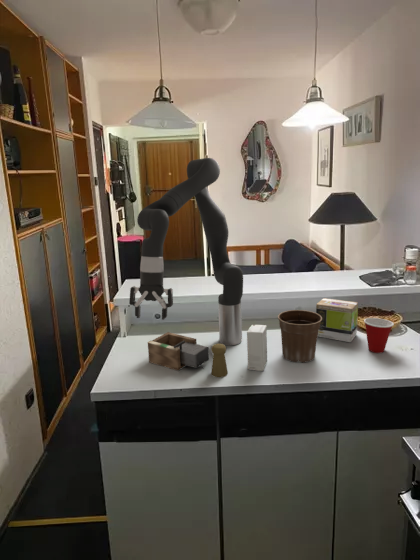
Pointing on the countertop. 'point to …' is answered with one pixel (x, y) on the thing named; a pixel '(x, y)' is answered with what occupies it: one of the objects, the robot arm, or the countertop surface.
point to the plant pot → (299, 334)
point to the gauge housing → (167, 350)
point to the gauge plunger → (193, 354)
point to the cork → (219, 361)
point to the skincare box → (257, 347)
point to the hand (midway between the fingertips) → (150, 318)
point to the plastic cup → (377, 333)
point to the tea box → (337, 319)
